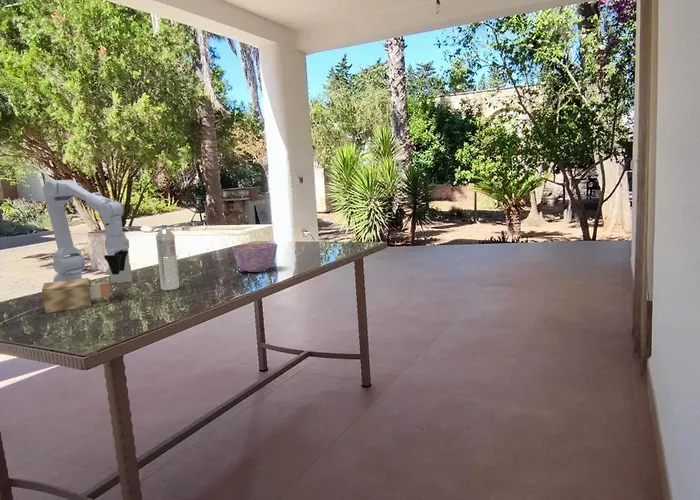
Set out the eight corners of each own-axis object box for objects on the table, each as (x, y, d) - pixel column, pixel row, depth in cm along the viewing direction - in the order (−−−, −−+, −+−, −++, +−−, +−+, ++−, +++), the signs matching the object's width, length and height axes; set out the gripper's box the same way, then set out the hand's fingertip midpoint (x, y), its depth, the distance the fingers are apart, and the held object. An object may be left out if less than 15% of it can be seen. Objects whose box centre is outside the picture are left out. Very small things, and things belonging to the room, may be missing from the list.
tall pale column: (135, 280, 226) (130, 230, 223) (130, 282, 222) (125, 231, 219) (112, 281, 227) (106, 231, 224) (107, 283, 223) (101, 232, 220)
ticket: (50, 304, 180) (48, 290, 179) (50, 303, 181) (48, 289, 180) (110, 296, 188) (108, 282, 188) (110, 295, 189) (108, 282, 189)
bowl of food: (226, 276, 226) (224, 249, 225) (243, 268, 246) (241, 243, 244) (271, 275, 223) (269, 248, 221) (284, 267, 242) (282, 242, 241)
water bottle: (169, 291, 199) (162, 226, 196) (157, 290, 203) (150, 226, 200) (183, 287, 205) (177, 224, 202) (171, 286, 209) (165, 224, 205)
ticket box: (45, 313, 174) (41, 289, 173) (47, 305, 186) (44, 283, 185) (93, 306, 180) (90, 283, 179) (92, 298, 193) (90, 277, 192)
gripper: (121, 236, 182) (125, 275, 183) (130, 232, 196) (134, 268, 198) (99, 238, 180) (104, 276, 182) (110, 234, 194) (114, 269, 196)
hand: (118, 272), depth 190 cm, fingers open, 7 cm apart
